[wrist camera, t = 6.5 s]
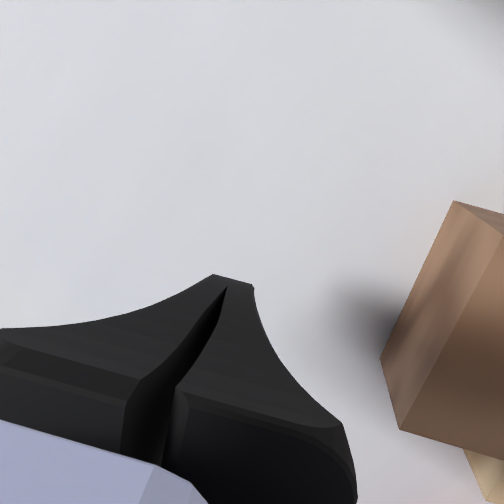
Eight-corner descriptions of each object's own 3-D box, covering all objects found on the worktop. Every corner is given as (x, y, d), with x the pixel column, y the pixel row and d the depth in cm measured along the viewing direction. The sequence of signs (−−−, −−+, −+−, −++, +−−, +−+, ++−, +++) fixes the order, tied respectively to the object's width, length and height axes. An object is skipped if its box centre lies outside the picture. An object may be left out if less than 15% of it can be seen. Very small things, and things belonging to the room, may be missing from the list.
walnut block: (481, 385, 18) (531, 468, 14) (379, 356, 18) (398, 429, 14) (575, 233, 15) (675, 282, 11) (451, 199, 15) (504, 235, 11)
